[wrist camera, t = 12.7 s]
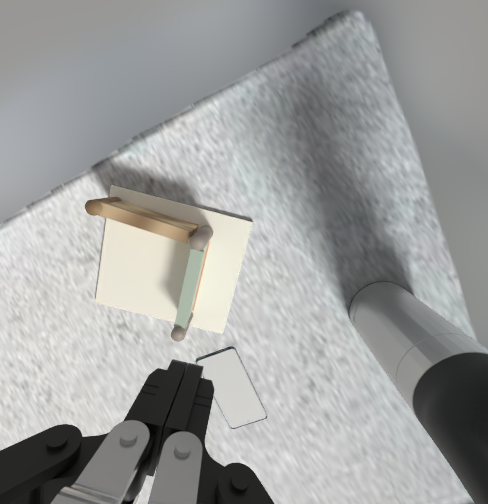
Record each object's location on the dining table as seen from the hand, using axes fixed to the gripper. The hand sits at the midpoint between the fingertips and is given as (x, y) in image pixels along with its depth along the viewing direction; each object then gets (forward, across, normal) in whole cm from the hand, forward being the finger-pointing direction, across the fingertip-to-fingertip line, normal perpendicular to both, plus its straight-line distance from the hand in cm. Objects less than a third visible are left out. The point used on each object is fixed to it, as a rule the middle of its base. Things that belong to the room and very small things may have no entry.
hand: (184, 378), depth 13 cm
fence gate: (+27, +12, -2) cm, 29 cm away
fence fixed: (+28, +4, +5) cm, 29 cm away
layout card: (+28, +8, +4) cm, 30 cm away
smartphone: (+29, -5, +24) cm, 38 cm away
